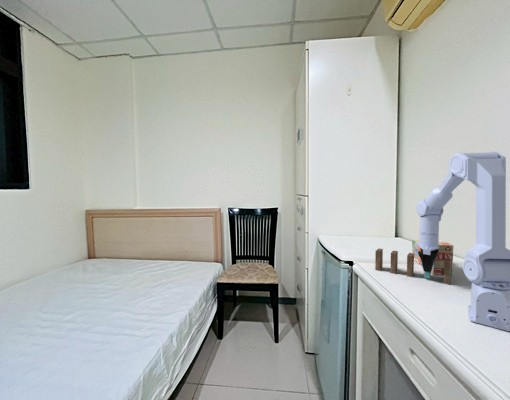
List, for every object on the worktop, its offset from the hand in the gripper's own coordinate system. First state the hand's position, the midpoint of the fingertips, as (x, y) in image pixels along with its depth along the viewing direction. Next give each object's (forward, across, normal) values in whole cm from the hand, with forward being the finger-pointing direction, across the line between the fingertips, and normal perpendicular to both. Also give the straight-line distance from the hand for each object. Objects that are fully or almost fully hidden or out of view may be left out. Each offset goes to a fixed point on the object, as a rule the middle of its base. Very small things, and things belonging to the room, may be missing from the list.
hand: (427, 269), depth 87 cm
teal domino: (+2, 0, 0) cm, 2 cm away
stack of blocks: (+4, -16, 0) cm, 16 cm away
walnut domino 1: (+3, 0, -16) cm, 17 cm away
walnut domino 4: (+3, 0, +6) cm, 6 cm away
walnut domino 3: (+3, 0, -6) cm, 6 cm away
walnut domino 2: (+3, 0, -11) cm, 11 cm away
